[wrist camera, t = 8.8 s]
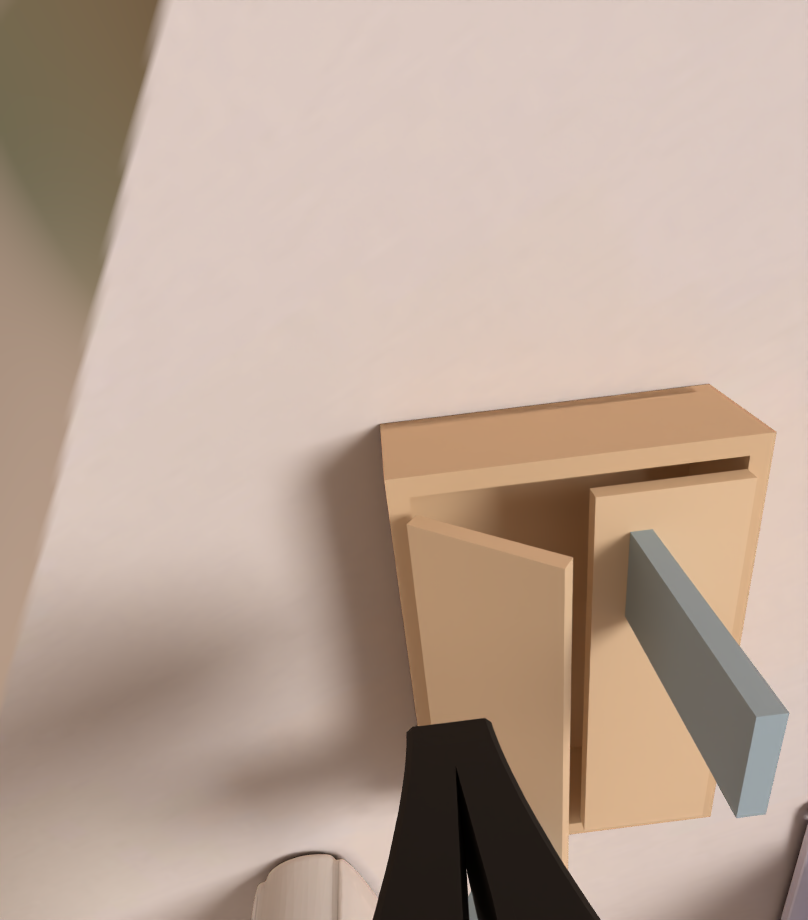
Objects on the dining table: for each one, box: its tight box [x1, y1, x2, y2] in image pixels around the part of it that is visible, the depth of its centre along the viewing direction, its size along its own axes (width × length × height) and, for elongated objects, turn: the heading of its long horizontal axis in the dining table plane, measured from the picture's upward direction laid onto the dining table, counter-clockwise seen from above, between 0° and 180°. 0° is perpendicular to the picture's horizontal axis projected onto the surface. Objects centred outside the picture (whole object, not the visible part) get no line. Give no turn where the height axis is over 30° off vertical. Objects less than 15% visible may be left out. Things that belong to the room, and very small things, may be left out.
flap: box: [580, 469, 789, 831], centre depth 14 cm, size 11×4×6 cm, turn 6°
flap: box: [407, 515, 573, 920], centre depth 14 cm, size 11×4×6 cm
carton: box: [380, 384, 776, 834], centre depth 18 cm, size 13×8×3 cm, turn 6°
